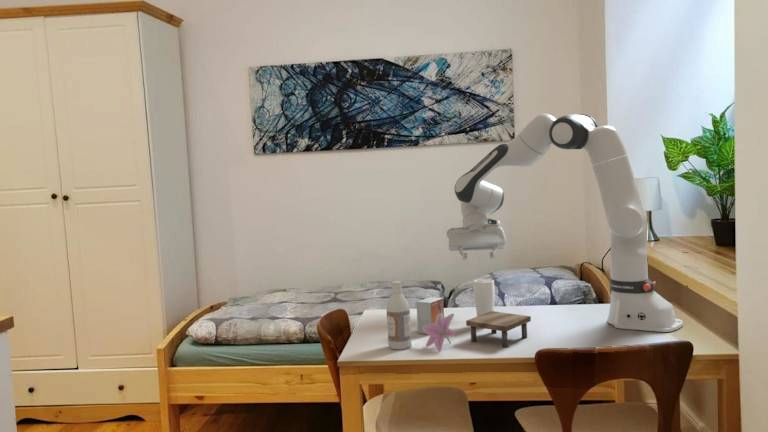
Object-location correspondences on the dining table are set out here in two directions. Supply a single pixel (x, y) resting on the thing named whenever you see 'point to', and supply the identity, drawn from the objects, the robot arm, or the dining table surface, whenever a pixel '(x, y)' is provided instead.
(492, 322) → the shelf stand
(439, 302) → the small box
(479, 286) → the white tall cup
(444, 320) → the lily
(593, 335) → the dining table surface
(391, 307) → the bath foam
